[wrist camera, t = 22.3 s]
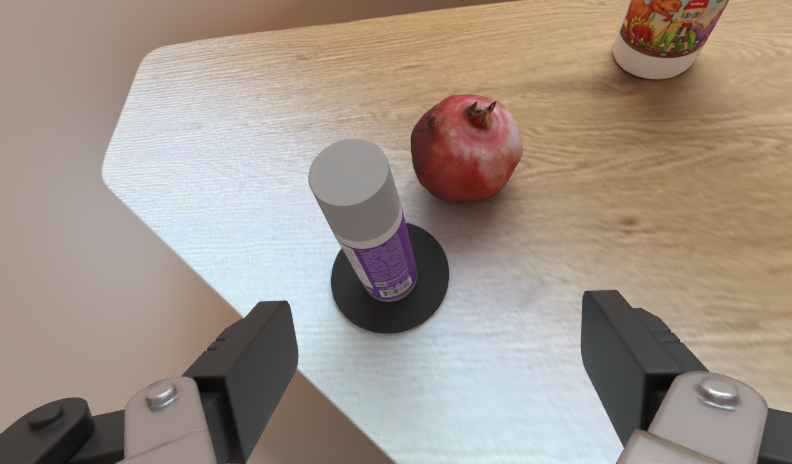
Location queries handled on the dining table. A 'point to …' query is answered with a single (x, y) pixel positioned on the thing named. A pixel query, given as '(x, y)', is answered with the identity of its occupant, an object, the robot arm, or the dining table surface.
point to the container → (365, 216)
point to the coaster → (404, 310)
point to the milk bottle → (664, 35)
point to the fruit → (465, 148)
